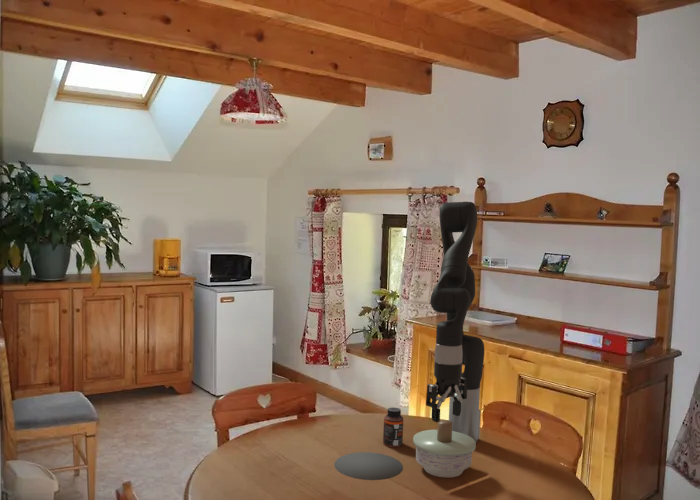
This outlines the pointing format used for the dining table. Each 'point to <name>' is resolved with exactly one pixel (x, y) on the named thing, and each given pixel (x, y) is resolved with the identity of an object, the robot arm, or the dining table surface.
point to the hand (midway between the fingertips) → (446, 418)
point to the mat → (368, 466)
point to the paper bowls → (443, 463)
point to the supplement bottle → (393, 428)
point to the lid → (444, 441)
